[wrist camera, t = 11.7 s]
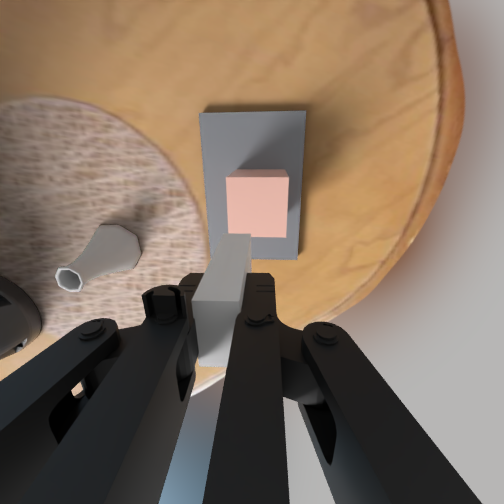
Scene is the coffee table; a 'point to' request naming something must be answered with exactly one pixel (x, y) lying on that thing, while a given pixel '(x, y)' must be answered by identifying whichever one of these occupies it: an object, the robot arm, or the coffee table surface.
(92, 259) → the flask
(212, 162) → the post board
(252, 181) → the pink upright block
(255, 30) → the coffee table surface
